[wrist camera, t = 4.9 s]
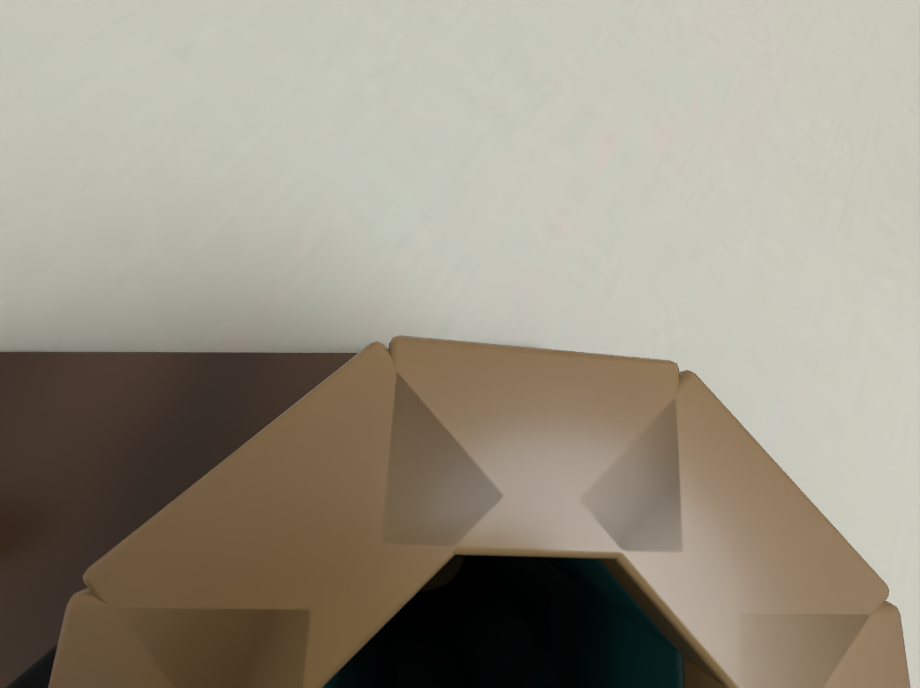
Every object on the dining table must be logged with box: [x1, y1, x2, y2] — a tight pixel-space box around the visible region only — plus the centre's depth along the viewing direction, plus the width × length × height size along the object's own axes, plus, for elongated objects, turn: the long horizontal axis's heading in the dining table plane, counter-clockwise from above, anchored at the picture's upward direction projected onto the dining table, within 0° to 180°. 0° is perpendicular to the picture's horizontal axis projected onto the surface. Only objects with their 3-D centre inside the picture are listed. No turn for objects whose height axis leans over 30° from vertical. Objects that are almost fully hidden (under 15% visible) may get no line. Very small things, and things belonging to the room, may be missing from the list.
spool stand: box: [0, 352, 466, 688], centre depth 11 cm, size 22×10×5 cm, turn 92°
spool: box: [48, 336, 910, 688], centre depth 8 cm, size 6×6×11 cm
